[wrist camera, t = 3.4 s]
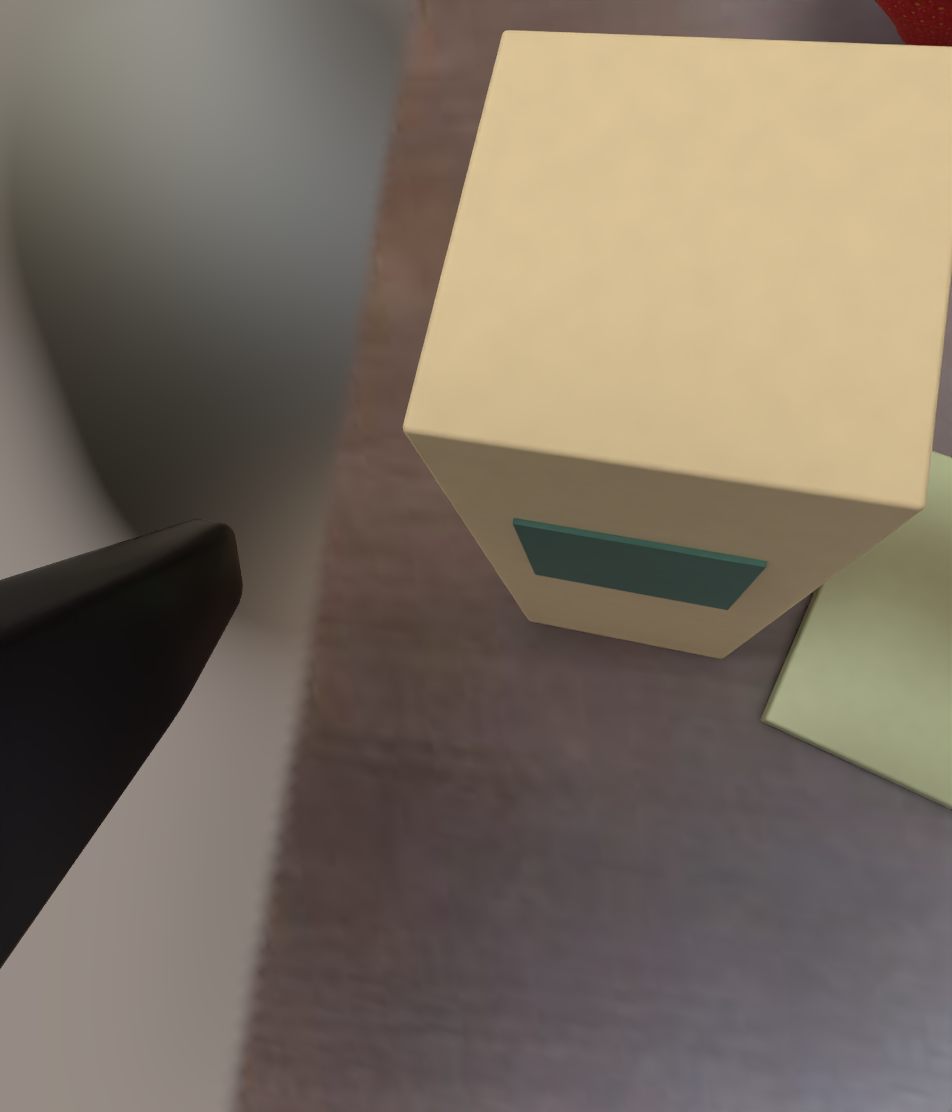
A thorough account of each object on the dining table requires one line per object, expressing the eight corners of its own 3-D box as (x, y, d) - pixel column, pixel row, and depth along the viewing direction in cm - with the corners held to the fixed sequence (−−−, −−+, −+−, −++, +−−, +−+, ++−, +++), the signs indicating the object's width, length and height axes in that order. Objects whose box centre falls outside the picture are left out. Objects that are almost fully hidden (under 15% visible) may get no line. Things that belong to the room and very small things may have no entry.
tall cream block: (722, 663, 18) (926, 519, 6) (527, 624, 19) (397, 438, 7) (752, 472, 19) (979, 43, 7) (564, 444, 20) (502, 27, 8)
